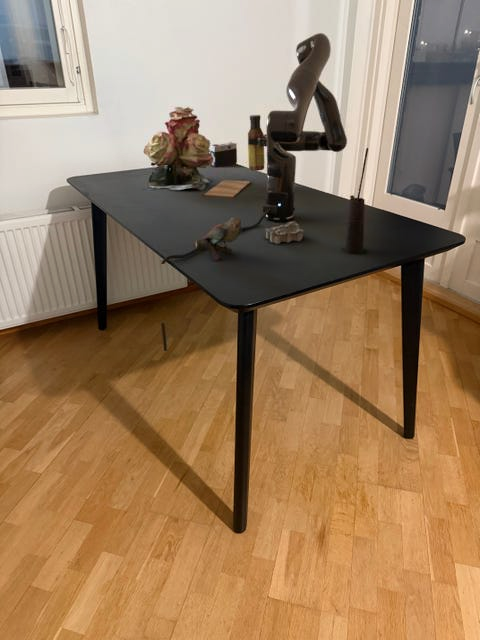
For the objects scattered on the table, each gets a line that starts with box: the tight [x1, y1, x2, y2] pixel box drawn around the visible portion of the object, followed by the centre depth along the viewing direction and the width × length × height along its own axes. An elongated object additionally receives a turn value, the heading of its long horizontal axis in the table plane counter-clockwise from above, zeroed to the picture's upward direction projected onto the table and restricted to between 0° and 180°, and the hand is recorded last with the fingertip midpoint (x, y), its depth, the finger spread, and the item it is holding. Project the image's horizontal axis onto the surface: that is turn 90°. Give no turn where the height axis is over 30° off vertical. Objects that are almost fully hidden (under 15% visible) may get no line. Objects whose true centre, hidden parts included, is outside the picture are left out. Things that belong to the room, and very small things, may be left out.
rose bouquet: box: [143, 106, 213, 191], centre depth 191 cm, size 26×29×30 cm
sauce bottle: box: [247, 114, 266, 171], centre depth 179 cm, size 7×6×20 cm
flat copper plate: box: [204, 179, 251, 199], centre depth 190 cm, size 24×12×1 cm, turn 163°
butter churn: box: [344, 147, 369, 255], centre depth 125 cm, size 9×10×28 cm
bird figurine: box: [195, 216, 243, 261], centre depth 126 cm, size 13×10×20 cm
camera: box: [209, 141, 238, 168], centre depth 230 cm, size 14×8×10 cm, turn 130°
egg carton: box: [264, 220, 305, 245], centre depth 139 cm, size 11×8×4 cm
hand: (250, 139), depth 179 cm, fingers closed on sauce bottle, 6 cm apart
